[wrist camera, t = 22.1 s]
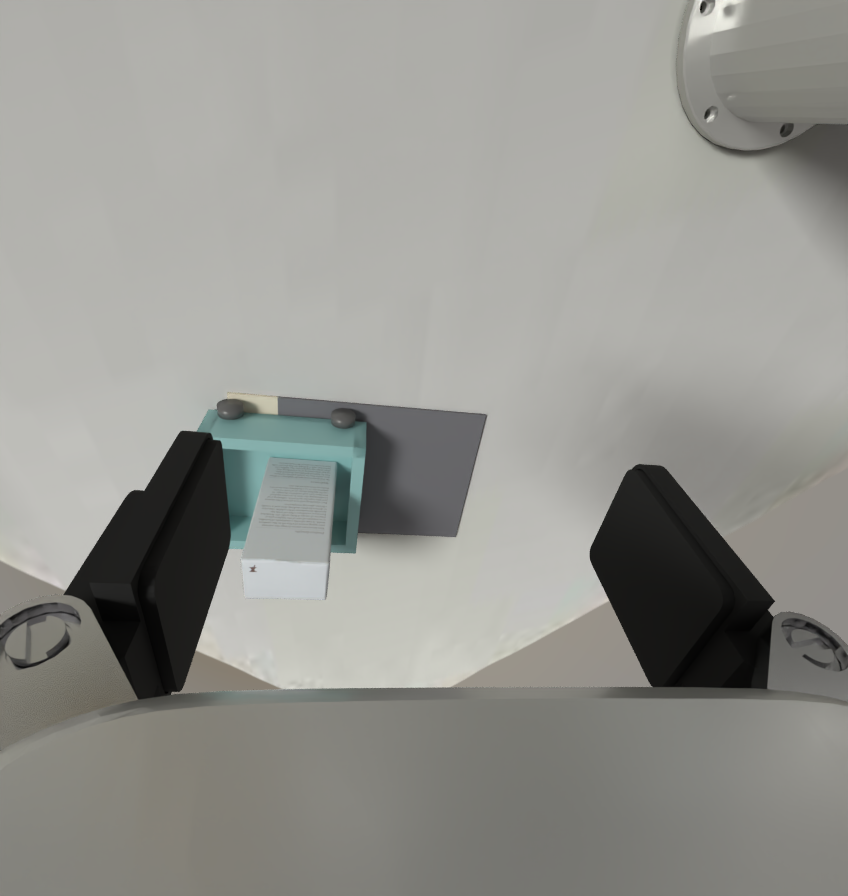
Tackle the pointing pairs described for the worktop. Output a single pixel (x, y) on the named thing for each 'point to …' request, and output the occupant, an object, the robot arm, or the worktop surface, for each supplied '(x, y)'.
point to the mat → (401, 461)
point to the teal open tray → (291, 438)
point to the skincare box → (291, 531)
